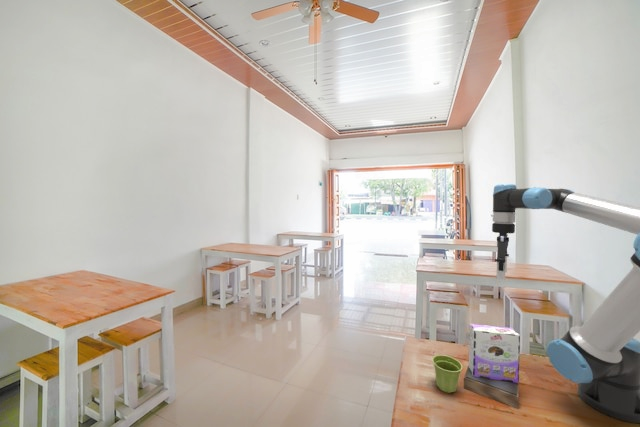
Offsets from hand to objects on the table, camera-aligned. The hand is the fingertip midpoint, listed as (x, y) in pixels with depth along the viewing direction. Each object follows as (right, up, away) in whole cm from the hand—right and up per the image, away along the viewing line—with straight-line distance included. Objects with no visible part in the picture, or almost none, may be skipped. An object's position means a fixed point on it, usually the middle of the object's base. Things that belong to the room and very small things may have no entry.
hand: (501, 275), depth 107 cm
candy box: (-14, -31, -15) cm, 38 cm away
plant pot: (-30, -35, -16) cm, 49 cm away
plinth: (-16, -35, -17) cm, 42 cm away
